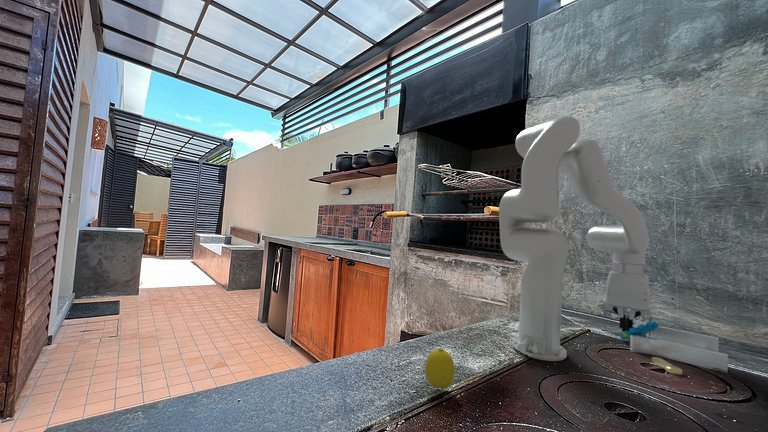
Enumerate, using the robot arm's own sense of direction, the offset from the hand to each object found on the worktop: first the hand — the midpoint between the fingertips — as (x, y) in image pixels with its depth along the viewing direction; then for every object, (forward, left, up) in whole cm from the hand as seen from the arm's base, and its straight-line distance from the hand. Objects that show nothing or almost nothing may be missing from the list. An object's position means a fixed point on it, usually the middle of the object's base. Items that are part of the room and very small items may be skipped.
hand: (625, 331), depth 90 cm
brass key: (-15, -8, -2) cm, 17 cm away
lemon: (-64, +24, -3) cm, 68 cm away
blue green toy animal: (-2, -3, -3) cm, 5 cm away
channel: (0, -10, -2) cm, 11 cm away
